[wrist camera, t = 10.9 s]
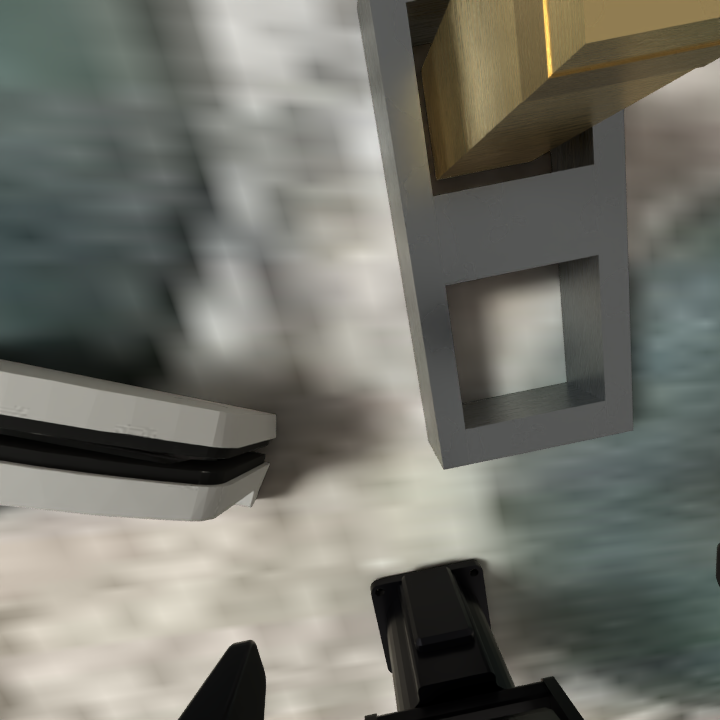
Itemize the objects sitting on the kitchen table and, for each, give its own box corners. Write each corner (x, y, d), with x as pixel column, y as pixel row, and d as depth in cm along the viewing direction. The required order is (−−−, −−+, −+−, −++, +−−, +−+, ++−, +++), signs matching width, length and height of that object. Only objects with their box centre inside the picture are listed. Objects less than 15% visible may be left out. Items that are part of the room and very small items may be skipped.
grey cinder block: (591, 407, 21) (633, 430, 18) (428, 441, 21) (443, 469, 18) (566, -33, 16) (617, -99, 13) (357, 7, 16) (361, -51, 13)
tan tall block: (532, 162, 18) (823, -1, 7) (435, 181, 18) (583, 47, 7) (522, 49, 17) (847, -340, 6) (419, 69, 17) (565, -287, 6)
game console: (-73, 442, 19) (-477, 481, 9) (-41, 349, 20) (-385, 295, 10) (263, 501, 21) (223, 586, 11) (283, 414, 22) (262, 422, 12)
